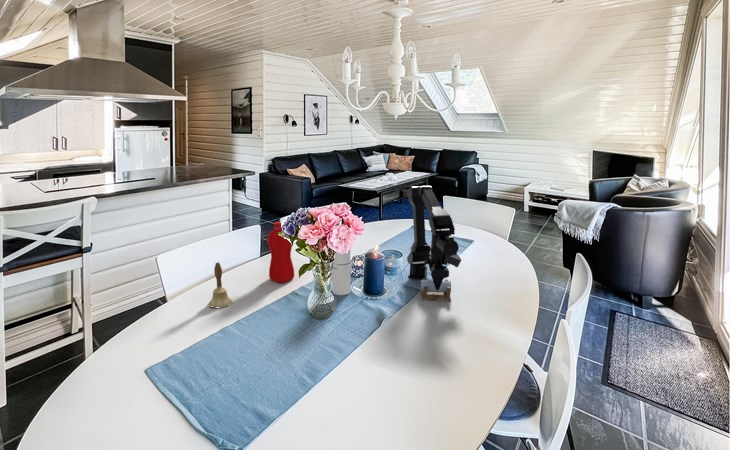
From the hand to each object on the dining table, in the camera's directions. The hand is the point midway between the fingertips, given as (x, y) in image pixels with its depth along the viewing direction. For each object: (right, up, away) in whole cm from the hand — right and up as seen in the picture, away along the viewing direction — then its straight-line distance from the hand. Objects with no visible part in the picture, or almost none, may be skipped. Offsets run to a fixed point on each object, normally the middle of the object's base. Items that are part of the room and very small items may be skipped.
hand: (436, 284), depth 149 cm
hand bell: (-81, -6, -7) cm, 81 cm away
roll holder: (0, -5, +1) cm, 5 cm away
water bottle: (-62, 0, +16) cm, 64 cm away
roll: (0, -3, +1) cm, 3 cm away
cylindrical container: (-37, -3, +4) cm, 37 cm away
